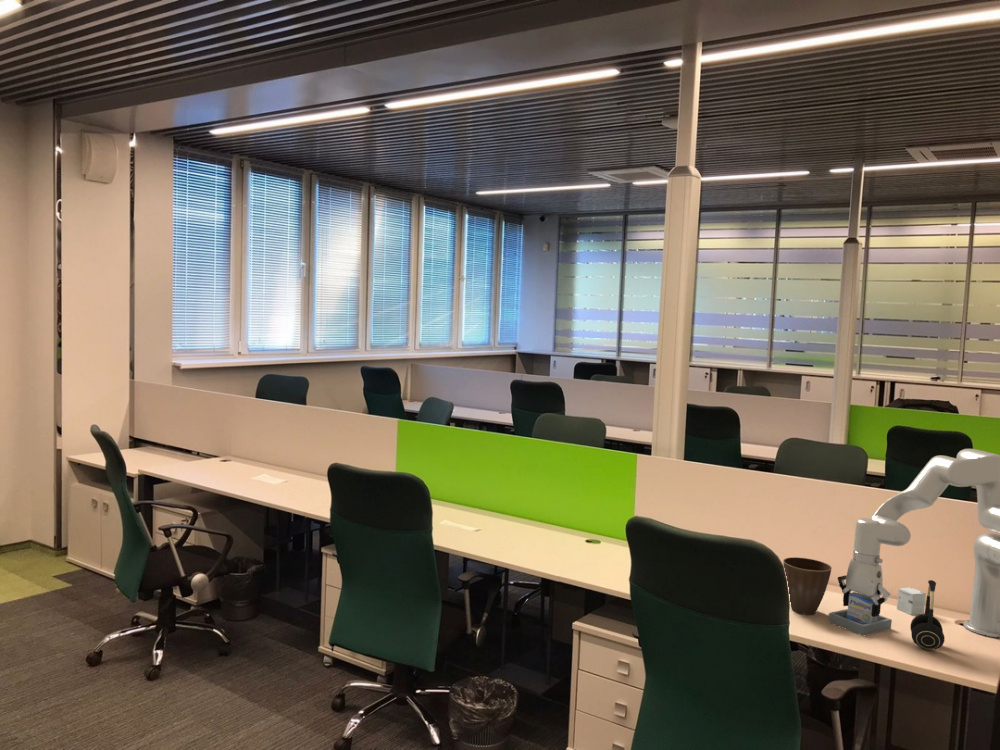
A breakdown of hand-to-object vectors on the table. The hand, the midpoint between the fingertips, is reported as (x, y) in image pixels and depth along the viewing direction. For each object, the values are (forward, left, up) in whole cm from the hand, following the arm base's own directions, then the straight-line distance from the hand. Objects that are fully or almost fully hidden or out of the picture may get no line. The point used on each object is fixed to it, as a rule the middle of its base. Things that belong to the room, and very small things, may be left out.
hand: (860, 610), depth 243 cm
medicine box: (0, -1, -4) cm, 4 cm away
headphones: (-19, -4, -5) cm, 20 cm away
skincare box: (+1, -31, -5) cm, 31 cm away
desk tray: (0, 0, -5) cm, 5 cm away
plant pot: (+16, +7, -5) cm, 18 cm away
